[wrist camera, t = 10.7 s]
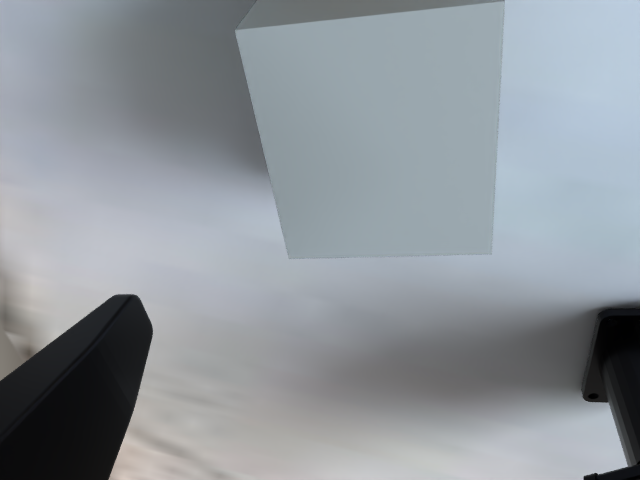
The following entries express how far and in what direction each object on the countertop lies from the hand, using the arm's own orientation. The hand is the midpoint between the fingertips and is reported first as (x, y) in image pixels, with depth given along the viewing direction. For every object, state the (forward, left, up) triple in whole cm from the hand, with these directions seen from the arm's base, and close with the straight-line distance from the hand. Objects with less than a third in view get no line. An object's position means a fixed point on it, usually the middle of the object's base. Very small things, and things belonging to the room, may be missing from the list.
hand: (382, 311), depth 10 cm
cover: (0, +1, -9) cm, 9 cm away
